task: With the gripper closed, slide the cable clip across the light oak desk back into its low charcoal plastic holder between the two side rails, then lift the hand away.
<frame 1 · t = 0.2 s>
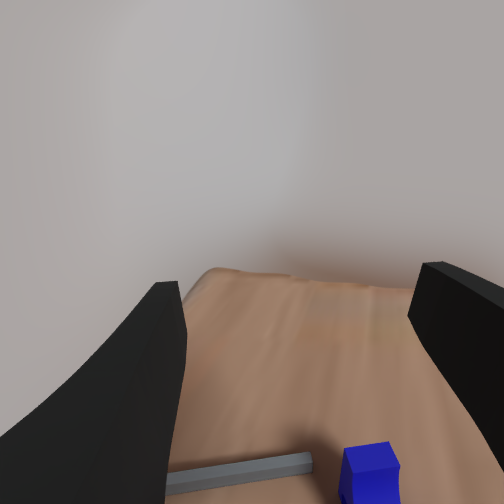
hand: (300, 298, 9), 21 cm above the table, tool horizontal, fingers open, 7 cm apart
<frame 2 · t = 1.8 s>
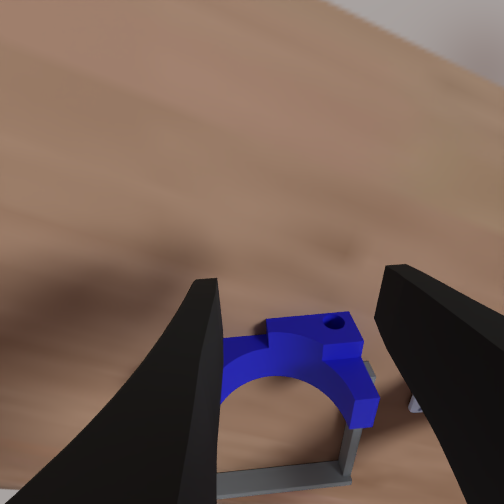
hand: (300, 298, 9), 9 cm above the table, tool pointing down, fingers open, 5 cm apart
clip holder: (267, 427, 29), on the table
cable clip: (266, 337, 24), on the table
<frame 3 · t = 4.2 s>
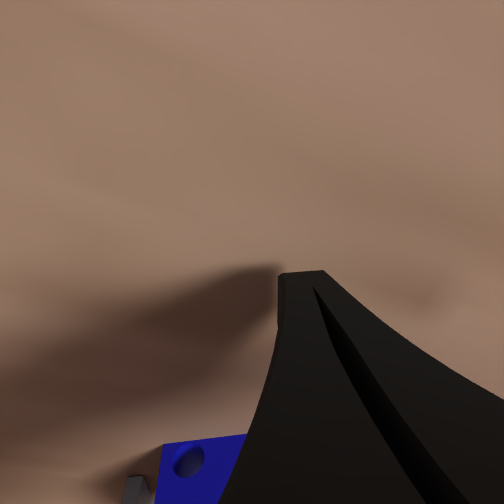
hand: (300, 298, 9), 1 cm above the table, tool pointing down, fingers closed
cable clip: (285, 430, 16), on the table
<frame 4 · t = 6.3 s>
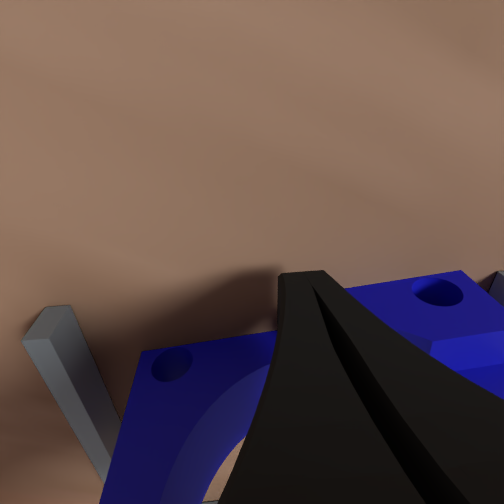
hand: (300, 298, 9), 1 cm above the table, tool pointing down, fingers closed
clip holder: (286, 421, 15), on the table
cable clip: (296, 333, 13), on the table, touching gripper
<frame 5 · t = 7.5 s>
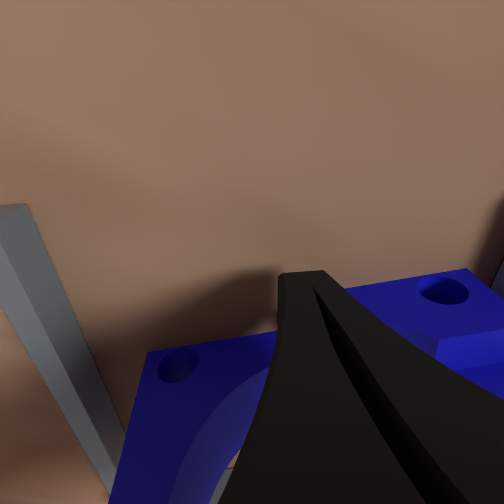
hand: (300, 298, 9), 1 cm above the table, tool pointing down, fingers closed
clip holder: (288, 371, 13), on the table
cable clip: (301, 333, 13), on the table
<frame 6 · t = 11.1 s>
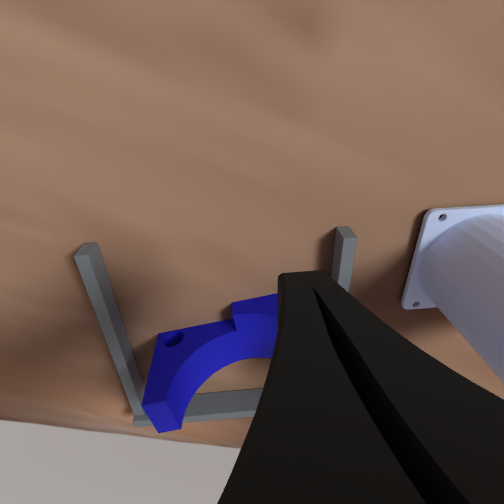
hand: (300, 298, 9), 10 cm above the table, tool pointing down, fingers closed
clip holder: (227, 328, 24), on the table
cable clip: (238, 321, 24), on the table
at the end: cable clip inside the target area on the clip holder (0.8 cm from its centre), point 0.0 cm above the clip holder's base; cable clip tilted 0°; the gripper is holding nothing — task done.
